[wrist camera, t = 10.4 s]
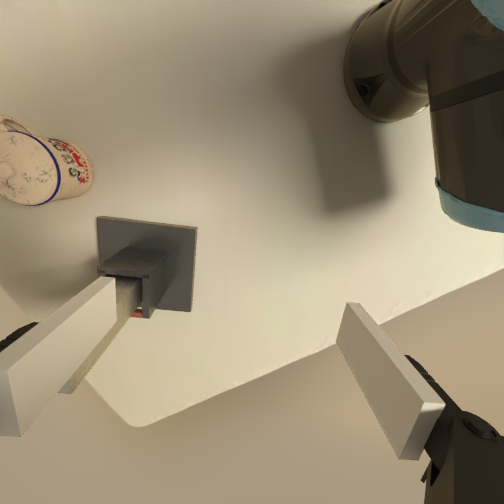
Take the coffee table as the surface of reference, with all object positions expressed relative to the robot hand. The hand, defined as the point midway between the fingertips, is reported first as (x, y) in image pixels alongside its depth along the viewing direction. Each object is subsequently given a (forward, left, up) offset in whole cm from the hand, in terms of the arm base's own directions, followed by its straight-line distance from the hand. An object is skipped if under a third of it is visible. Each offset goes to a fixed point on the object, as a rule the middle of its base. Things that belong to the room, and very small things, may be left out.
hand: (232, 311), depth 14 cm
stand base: (+11, -15, -31) cm, 36 cm away
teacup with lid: (-5, -29, -31) cm, 43 cm away
